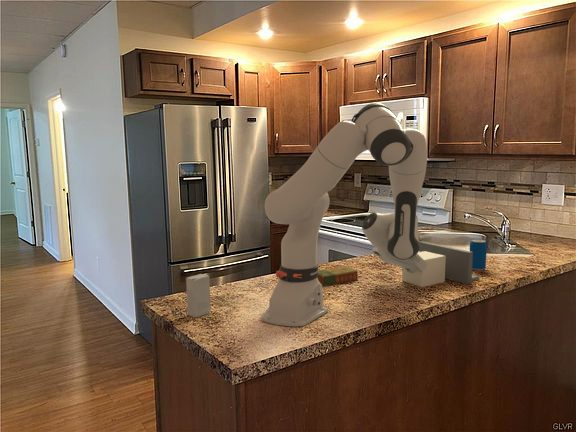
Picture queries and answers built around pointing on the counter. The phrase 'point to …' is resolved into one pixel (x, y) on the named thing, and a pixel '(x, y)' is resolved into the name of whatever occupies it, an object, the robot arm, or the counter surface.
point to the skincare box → (198, 295)
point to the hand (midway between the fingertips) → (411, 271)
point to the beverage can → (478, 254)
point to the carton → (337, 275)
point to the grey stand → (453, 262)
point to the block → (427, 270)
